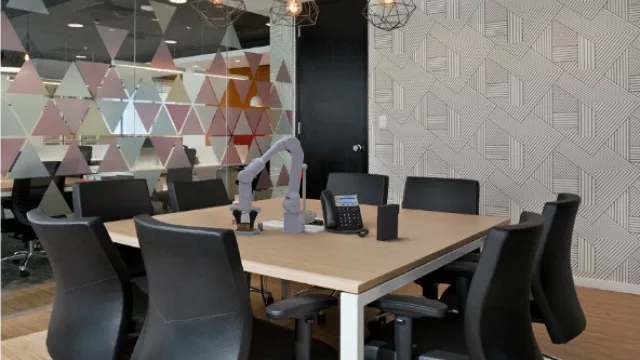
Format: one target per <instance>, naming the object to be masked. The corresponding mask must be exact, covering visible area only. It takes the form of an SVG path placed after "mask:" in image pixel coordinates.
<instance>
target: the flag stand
mask: <svg viewBox="0 0 640 360" xmlns="http://www.w3.org/2000/svg"><path fill="white" fill-rule="evenodd" d="M307 169H308V164H306V163H303V166H302V173H301V179H302V210H301V209H300V210H299V213H301V214H304V216H305V225H310V224H309V223H312V222H314V221H315V220H316V218H317V215H318V212H317V211H316V210H314V211H312V210H306V207H307V206H306V205H307V204H306V200H307V199H306V198H307V197H306V196H307V195H306V193H307V189H306V188H307V187H306V186H307V179H306V178H307V176H306V175H307V173H306V172H307ZM312 224H313V223H312Z"/></svg>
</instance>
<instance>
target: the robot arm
mask: <svg viewBox="0 0 640 360" xmlns="http://www.w3.org/2000/svg"><path fill="white" fill-rule="evenodd" d="M284 151H286V152H287V153H288V154H289V155H290V156H291V164H290V165H291V166H290V172H289V179H288V187H287V192H286V194H285V197H284V199H283V201H282V204H281V205H282V208H283V209H284V210H283V230H280V232H281V233H291V234H292V233H296V234H301V233H304V232H305V231H306V229H305V228H306V224H305V216H304V214H301V213H299V210H301V208H302V204H301V197H300V196H301V195H300V187H301V180H302V177H301V173H302V170H303V169H302V166H303V164H304V159H305V157H304V156H305V153H304V150H303V148H302V145H301V142H300V139H298V138H297V137H296V136H293V135H290V136H289V135H284V136H282V137H281V138H280V139H278V140H277V141H276V142H275V143H274V144H272V145H271V147H269V148H268V150H267V151H266V152H264V154H262V155H261V157H255V158H252V159H251V162H249V164H247V165H246V166H244V167H243V170H240V171H239V172H238V174H237V178H236V179H237V180H238V181H239V182H238V195H239V206H232V205H230V206H229V212H231V215H232V214H233V215H234V217H235V220H236V223H237V224H239V223H241V214H242V211H249V212H250V213H249V218H250V228H253V226H254V227H255V221H256V219H257V216H258V214H259V213H261V212H262V207H257V206H253V201H252V199H253V197H252V193H253V192H252V191H253V190H252V182H253V180H254V178H255V177H256V176H257V175H258V174H260V173H261V172H262V171H263V170H264V169H265V167H266V163H268V161H270V160H271V159H272V158H274V156H275V155H277V154H278V153H279V152H284ZM232 211H233V212H232Z"/></svg>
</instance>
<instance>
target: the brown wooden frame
mask: <svg viewBox="0 0 640 360" xmlns="http://www.w3.org/2000/svg"><path fill="white" fill-rule="evenodd" d="M254 228H255V225H254V226H253V228H250V223H247V222H242V223H239V224H237V225H236V229H237V231H244V232H250V231H251V230H254Z"/></svg>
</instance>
